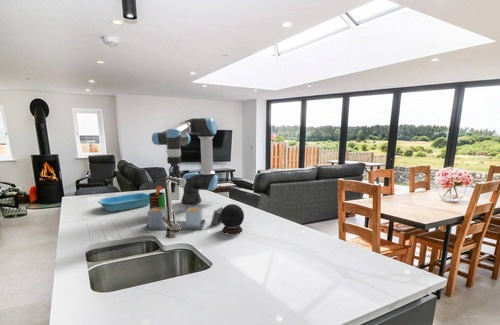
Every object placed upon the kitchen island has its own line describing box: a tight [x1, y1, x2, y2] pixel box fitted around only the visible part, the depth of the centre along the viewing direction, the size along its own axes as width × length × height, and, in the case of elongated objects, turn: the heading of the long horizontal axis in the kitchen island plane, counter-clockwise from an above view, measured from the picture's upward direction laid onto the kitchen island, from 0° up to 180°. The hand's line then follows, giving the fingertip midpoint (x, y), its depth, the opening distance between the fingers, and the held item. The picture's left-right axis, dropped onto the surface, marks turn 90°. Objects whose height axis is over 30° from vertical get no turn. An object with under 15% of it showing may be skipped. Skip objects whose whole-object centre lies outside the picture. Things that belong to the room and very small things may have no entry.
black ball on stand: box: [220, 203, 245, 235], centre depth 146 cm, size 13×13×15 cm
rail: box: [144, 206, 206, 231], centre depth 153 cm, size 11×32×11 cm, turn 91°
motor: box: [148, 185, 166, 210], centre depth 168 cm, size 10×9×20 cm
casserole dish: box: [98, 192, 150, 213], centre depth 193 cm, size 37×22×7 cm, turn 135°
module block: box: [170, 183, 183, 201], centre depth 150 cm, size 6×6×11 cm
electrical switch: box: [210, 206, 224, 226], centre depth 159 cm, size 9×5×9 cm, turn 157°
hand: (175, 196), depth 151 cm, fingers closed on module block, 6 cm apart
